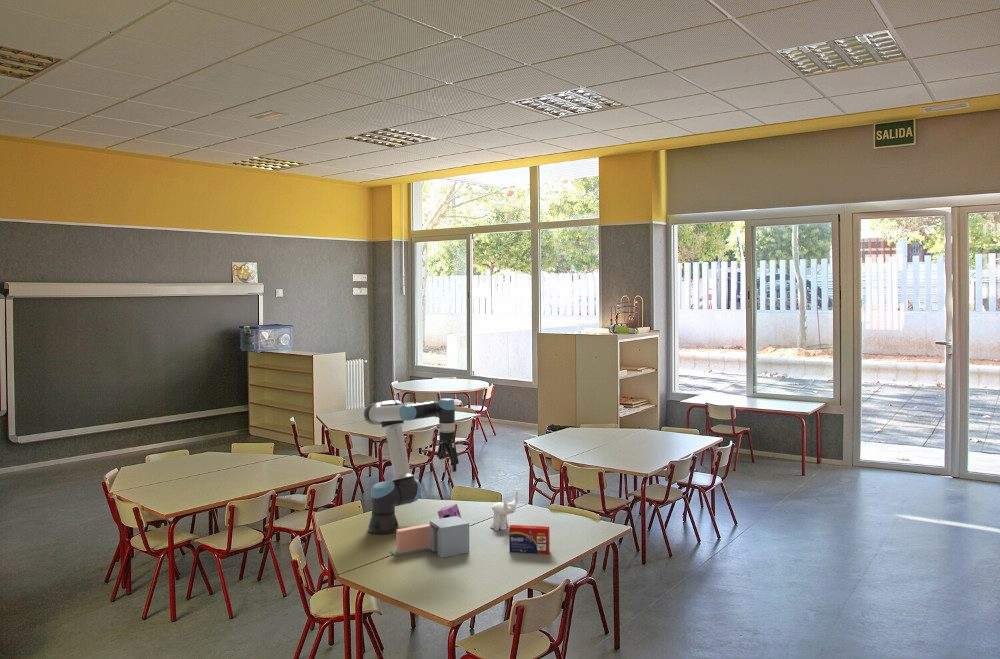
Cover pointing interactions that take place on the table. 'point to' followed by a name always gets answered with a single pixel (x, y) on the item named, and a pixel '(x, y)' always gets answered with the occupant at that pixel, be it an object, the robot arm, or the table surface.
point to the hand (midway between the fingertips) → (447, 475)
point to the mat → (407, 552)
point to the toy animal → (503, 513)
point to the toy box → (529, 539)
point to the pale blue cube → (449, 536)
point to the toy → (449, 511)
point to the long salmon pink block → (413, 538)
